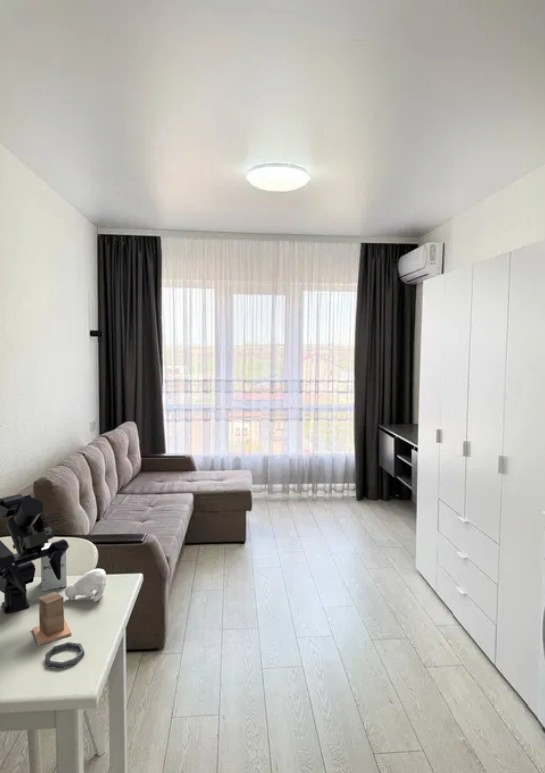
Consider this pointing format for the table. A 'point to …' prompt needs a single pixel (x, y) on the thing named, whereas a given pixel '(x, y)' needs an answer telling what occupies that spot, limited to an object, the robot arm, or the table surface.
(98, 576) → the white lumpy piece
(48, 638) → the terracotta mat
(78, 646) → the metal ring
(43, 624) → the walnut block
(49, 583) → the supplement box
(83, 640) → the table surface
